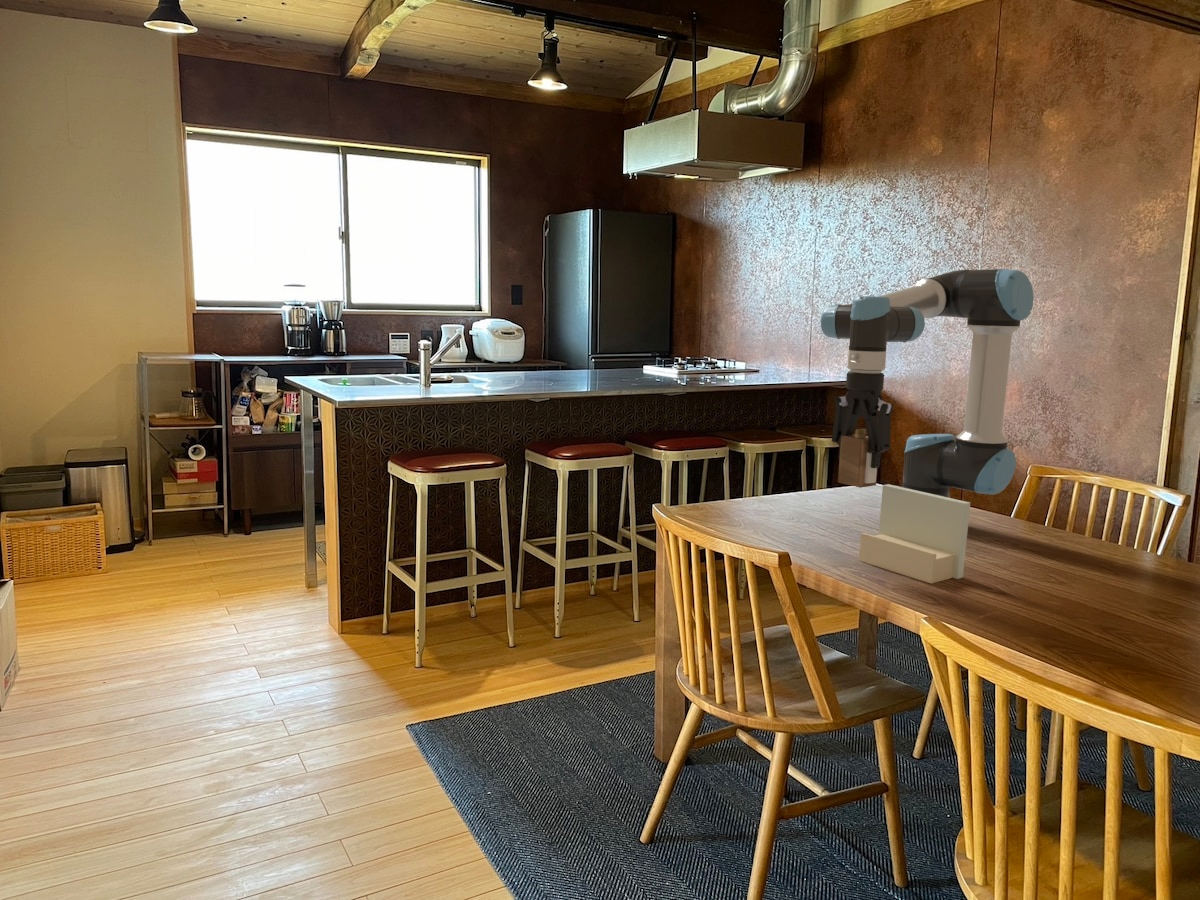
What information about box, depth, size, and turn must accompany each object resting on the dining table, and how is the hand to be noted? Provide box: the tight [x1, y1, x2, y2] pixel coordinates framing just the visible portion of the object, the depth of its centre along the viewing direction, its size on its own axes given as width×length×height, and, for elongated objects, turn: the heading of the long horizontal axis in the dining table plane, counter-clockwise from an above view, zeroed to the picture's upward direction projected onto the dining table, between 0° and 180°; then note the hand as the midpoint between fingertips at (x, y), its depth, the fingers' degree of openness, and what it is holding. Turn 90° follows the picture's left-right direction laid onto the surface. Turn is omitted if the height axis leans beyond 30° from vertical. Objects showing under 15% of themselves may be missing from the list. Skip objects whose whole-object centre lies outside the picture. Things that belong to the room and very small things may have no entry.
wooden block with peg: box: [837, 428, 878, 489], centre depth 183 cm, size 5×6×12 cm
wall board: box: [858, 483, 971, 585], centre depth 183 cm, size 10×20×16 cm, turn 35°
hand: (857, 479), depth 184 cm, fingers closed on wooden block with peg, 6 cm apart
